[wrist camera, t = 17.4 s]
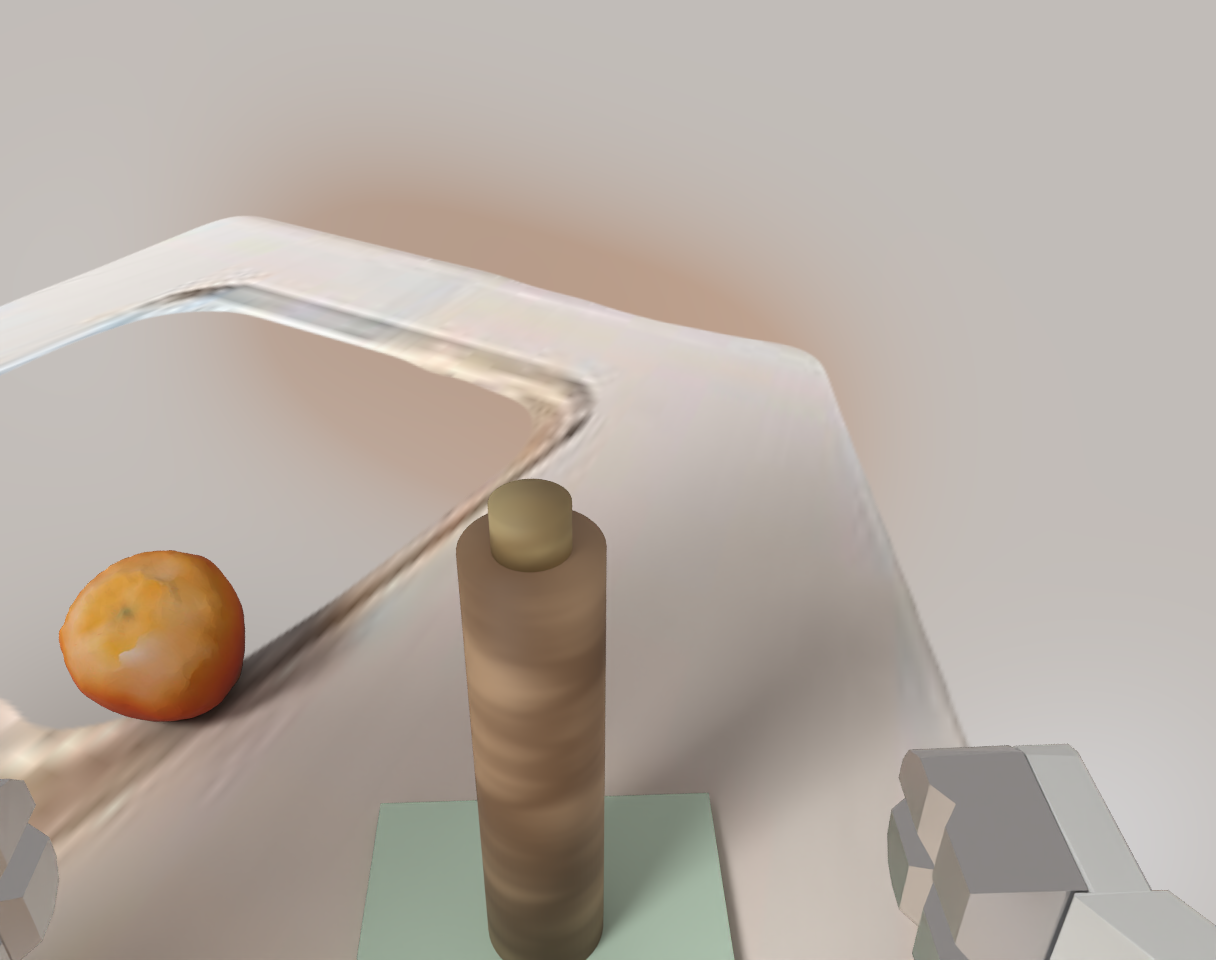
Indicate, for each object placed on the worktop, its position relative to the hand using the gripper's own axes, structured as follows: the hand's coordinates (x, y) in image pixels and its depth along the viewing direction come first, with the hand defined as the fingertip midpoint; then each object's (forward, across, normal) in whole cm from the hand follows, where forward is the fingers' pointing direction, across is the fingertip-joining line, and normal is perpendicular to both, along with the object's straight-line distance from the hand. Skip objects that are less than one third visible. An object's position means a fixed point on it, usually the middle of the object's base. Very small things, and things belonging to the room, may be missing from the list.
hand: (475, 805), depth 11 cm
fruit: (+33, +18, +30) cm, 48 cm away
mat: (+19, 0, +30) cm, 36 cm away
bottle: (+19, 0, +29) cm, 35 cm away
